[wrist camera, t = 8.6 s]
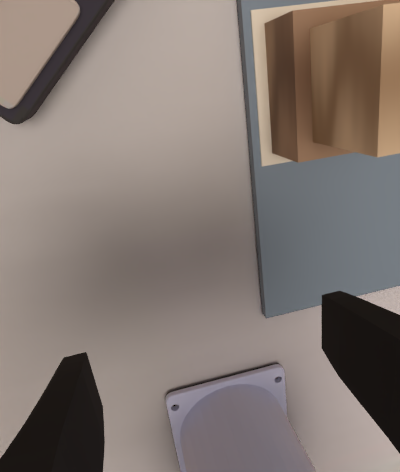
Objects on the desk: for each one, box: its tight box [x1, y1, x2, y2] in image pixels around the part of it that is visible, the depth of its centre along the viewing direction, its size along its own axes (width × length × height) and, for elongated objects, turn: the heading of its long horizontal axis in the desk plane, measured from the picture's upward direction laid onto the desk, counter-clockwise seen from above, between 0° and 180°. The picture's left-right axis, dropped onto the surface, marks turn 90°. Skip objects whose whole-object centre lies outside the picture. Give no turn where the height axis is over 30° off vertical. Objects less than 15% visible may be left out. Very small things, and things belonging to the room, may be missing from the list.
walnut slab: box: [264, 0, 400, 163], centre depth 18 cm, size 6×6×3 cm
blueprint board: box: [237, 0, 400, 318], centre depth 22 cm, size 18×15×1 cm
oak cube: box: [310, 3, 400, 157], centre depth 14 cm, size 4×4×4 cm
